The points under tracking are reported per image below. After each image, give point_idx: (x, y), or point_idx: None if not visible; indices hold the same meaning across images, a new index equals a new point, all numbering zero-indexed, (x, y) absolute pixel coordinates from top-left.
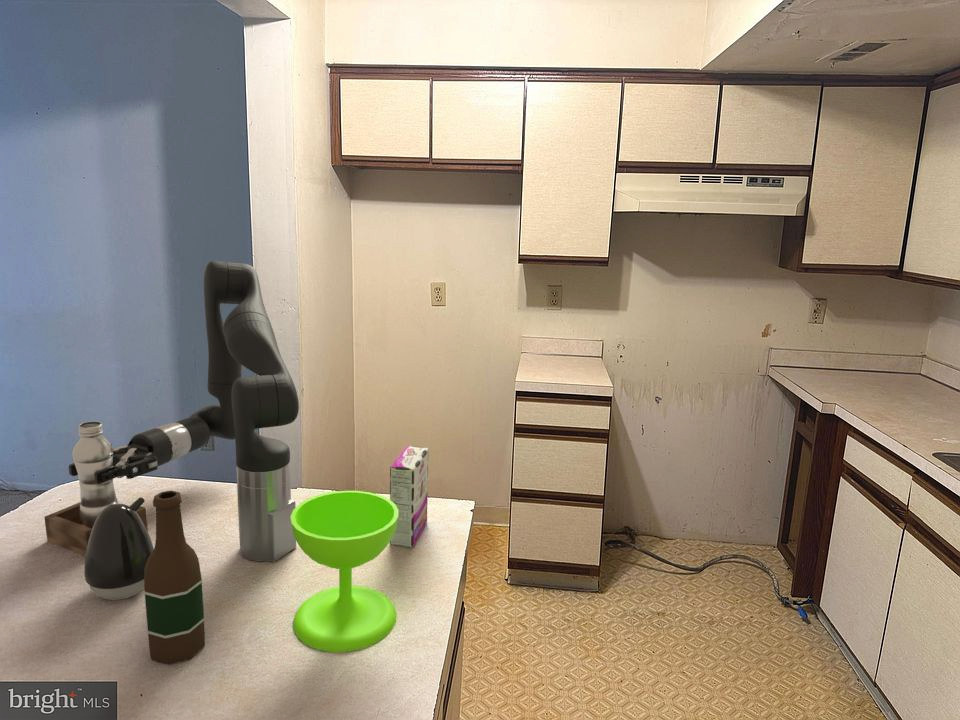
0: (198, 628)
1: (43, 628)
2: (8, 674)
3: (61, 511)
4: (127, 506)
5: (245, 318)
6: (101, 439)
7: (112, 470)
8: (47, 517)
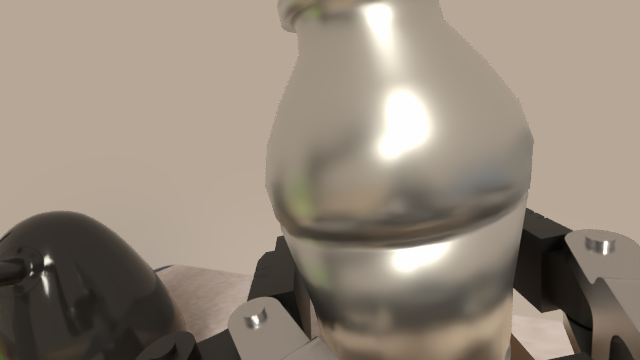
0: None
1: (202, 294)
2: (183, 265)
3: (512, 352)
4: (4, 235)
5: None
6: (297, 65)
7: (261, 292)
8: None
